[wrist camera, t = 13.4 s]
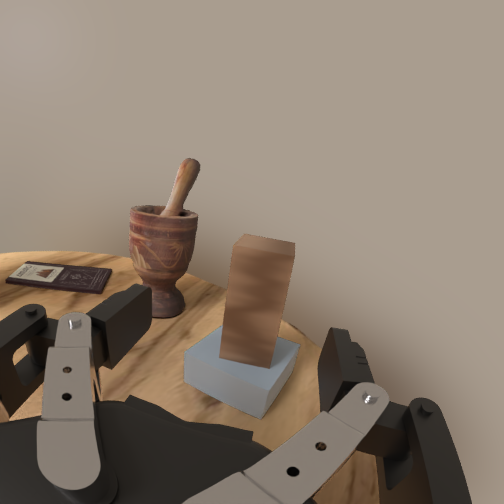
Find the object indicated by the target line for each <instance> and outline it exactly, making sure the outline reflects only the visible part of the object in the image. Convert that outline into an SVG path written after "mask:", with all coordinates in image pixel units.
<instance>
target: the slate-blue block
mask: <svg viewBox="0 0 504 504" xmlns="http://www.w3.org/2000/svg"><path fill="white" fill-rule="evenodd" d="M222 328H223V325H222V326H220V327H219V328H217V329H216V330H215V331H213V332H212V333H210V334H209V335H208V336H206V337H205V338H203V339H202V340H201V341H199V342H198V343H196V344H195V345H194V346H192V347H191V348H189V349H188V350H186V351H185V352H184V382H186V383H187V384H189V385H191V386H193V387H195V388H196V389H198V390H200V391H202V392H204V393H206V394H208V395H210V396H212V397H214V398H215V399H217V400H219V401H221V402H223V403H226V404H228V405H230V406H232V407H234V408H236V409H238V410H240V411H242V412H245V413H247V414H249V415H251V416H254V417H256V418H258V419H262V417H263V416H264V414H265V413H266V411H267V410H268V409H269V407H270V406H271V404H272V403H273V401H274V400H275V398H276V397H277V395H278V394H279V392H280V391H281V389H282V387H283V386H284V384H285V383H286V381H287V380H288V378H289V377H290V375H291V373H292V372H293V368H294V365H295V362H296V358H297V355H298V351H299V348H300V344H298V343H295V342H292V341H289V340H286V339H283V338H280V337H278V336H277V340H276V345H275V349H274V353H273V357H272V361H271V365H270V369H267V368H262V367H257V366H252V365H248V364H243V363H238V362H234V361H230V360H225V359H221V358H219V353H220V344H221V336H222Z"/></svg>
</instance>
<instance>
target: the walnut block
mask: <svg viewBox="0 0 504 504" xmlns="http://www.w3.org/2000/svg"><path fill="white" fill-rule="evenodd" d="M294 257H295V243H292V242H287V241H281V240H276V239H270V238H265V237H260V236H254V235H249V234H244V235H243V236H242V237H241V238H240V239H239V240H238V241H237V242H236V243H235V244H234V245H233V251H232V258H231V266H230V273H229V281H228V288H227V296H226V304H225V312H224V320H223V328H222V336H221V344H220V353H219V358H221V359H225V360H230V361H234V362H238V363H243V364H248V365H252V366H257V367H262V368H267V369H270V365H271V361H272V357H273V353H274V349H275V345H276V340H277V336H278V332H279V328H280V323H281V319H282V314H283V310H284V305H285V301H286V296H287V291H288V287H289V282H290V277H291V273H292V267H293V263H294Z"/></svg>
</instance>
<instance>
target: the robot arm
mask: <svg viewBox="0 0 504 504" xmlns="http://www.w3.org/2000/svg"><path fill="white" fill-rule="evenodd" d="M151 322H152V289H151V288H150V287H147V286H143V285H140V284H134V285H132V286H131V287H130V288H128V289H127V290H125V291H121V292H118V293H115V294H113V295H112V296H110V297H109V298H108V299H106V300H104V301H103V302H102V303H100V304H99V305H97V306H96V307H95V308H93V309H92V310H90V311H89V312H88V313H86V314H84V313H80V312H72V313H68V314H65V315H63V316H62V317H61V318H60V319H59V320H56V319H51V318H47V315H46V310H45V308H44V307H43V306H41V305H39V304H29V305H25V306H23V307H21V308H20V309H18V310H17V311H15V312H14V313H12V314H11V315H9V316H7V317H6V318H4V319H3V320H1V321H0V504H317V503H316V502H315V501H314V499H313V498H314V497H315V496H316V495H317V494H318V493H319V492H320V491H321V490H322V488H323V487H324V486H325V485H326V484H327V483H328V482H329V481H330V480H331V479H332V478H333V477H334V476H335V474H336V473H337V472H338V471H339V470H340V469H341V468H342V467H343V465H344V464H345V463H346V462H347V461H348V460H349V458H350V457H351V456H352V455H353V454H354V452H355V451H356V450H357V451H361V452H364V453H368V454H371V455H375V456H376V463H377V473H378V485H379V498H380V504H472V502H471V498H470V494H469V490H468V487H467V483H466V480H465V476H464V473H463V470H462V466H461V463H460V460H459V457H458V454H457V451H456V448H455V446H454V443H453V440H452V437H451V435H450V432H449V429H448V427H447V424H446V422H445V419H444V417H443V414H442V412H441V410H440V408H439V406H438V405H437V404H436V403H435V402H433V401H431V400H429V399H426V398H416V399H414V400H412V401H411V403H410V404H409V406H408V407H407V406H404V405H400V404H396V403H393V402H391V401H389V395H388V393H387V392H386V391H385V390H384V389H383V388H382V387H380V386H378V385H376V384H375V383H374V380H373V377H372V374H371V371H370V368H369V365H368V361H367V359H366V356H365V353H364V350H363V349H362V348H361V347H360V345H359V344H358V343H356V342H351V339H350V335H349V332H348V330H345V329H338V328H332V327H331V328H330V329H329V332H328V335H327V338H326V341H325V343H324V346H323V349H322V352H321V355H320V358H319V362H318V381H319V396H320V412H321V413H320V414H319V415H317V416H316V417H315V418H314V419H313V420H312V421H311V422H309V423H308V424H307V425H306V426H305V427H303V428H302V429H301V430H300V431H299V432H297V433H296V434H295V435H294V436H292V437H291V438H290V439H289V440H287V441H286V442H285V443H283V444H282V445H281V446H279V447H278V448H277V449H275V450H274V451H273V452H272V451H271V450H269V449H268V448H266V447H265V446H263V445H261V444H259V443H257V442H255V441H252V436H253V431H248V430H243V429H238V428H234V427H229V426H225V425H221V424H206V423H195V422H187V421H184V420H182V419H180V418H178V417H176V416H175V415H173V414H171V413H169V412H168V411H166V410H164V409H163V408H161V407H159V406H158V405H155V404H153V403H150V402H147V401H145V400H142V399H139V398H137V397H134V396H132V395H129V397H128V398H127V399H126V401H125V402H122V401H103V396H102V388H101V379H100V372H99V368H100V367H101V366H104V367H107V368H109V369H111V370H112V369H113V368H114V367H115V366H116V364H117V363H118V362H119V361H120V360H121V359H122V358H123V357H124V356H125V355H126V353H127V352H128V351H129V350H130V349H131V348H132V347H133V346H134V345H135V344H136V343H137V341H138V340H139V339H140V338H141V337H142V336H143V335H144V334H145V333H146V332H147V331H148V329H149V328H150V325H151ZM23 344H26V348H27V351H28V354H27V355H26V356H25V357H24V358H23V359H22V360H20V361H19V362H18V363H17V364H16V365H15V366H14V364H13V354H14V352H15V351H16V350H17V349H18V348H20V347H21V346H22V345H23ZM43 382H44V387H43V400H42V415H40V416H35V417H30V418H25V419H20V420H14V421H9V418H10V417H11V416H12V415H13V414H14V413H15V412H16V411H17V409H18V408H19V407H20V406H21V405H22V404H23V403H24V402H25V401H26V400H27V399H28V398H29V397H30V395H31V394H32V393H33V392H34V391H35V390H36V389H37V388H38V387H39V386H40V385H41V384H42V383H43Z"/></svg>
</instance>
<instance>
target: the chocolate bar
mask: <svg viewBox="0 0 504 504" xmlns="http://www.w3.org/2000/svg"><path fill="white" fill-rule="evenodd" d="M111 272H112V269H107V268H95V267H83V266H72V265H61V264H50V263H40V262H30V261H27V262H26V263H24V264H23V265H22V266H21V267H20V268H18V269H17V270H16V271H15V272H14V273H13V274H11V275H10V276H9V277H8V278H7V279H6V280H5V281H6V283H9V284H15V285H23V286H30V287H38V288H46V289H54V290H63V291H73V292H82V293H93V294H101V293H102V291H103V289H104V286H105V284H106V282H107V280H108V278H109V276H110V274H111Z"/></svg>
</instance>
